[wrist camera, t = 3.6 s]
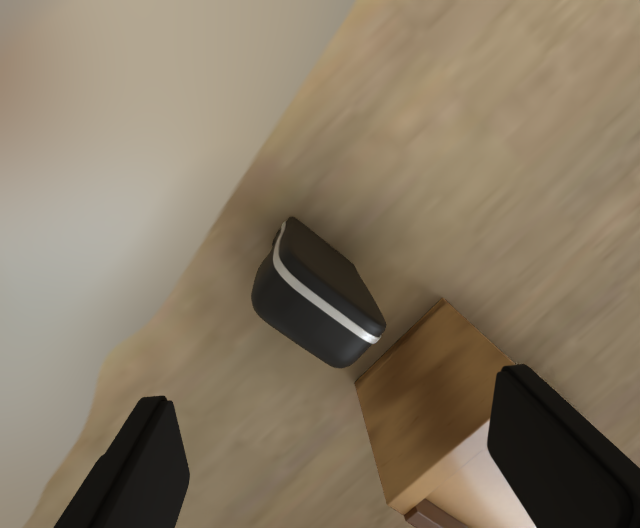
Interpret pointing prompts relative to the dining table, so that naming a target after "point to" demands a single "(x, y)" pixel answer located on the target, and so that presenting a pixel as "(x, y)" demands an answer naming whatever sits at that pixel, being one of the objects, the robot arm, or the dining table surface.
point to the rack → (439, 426)
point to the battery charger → (316, 297)
